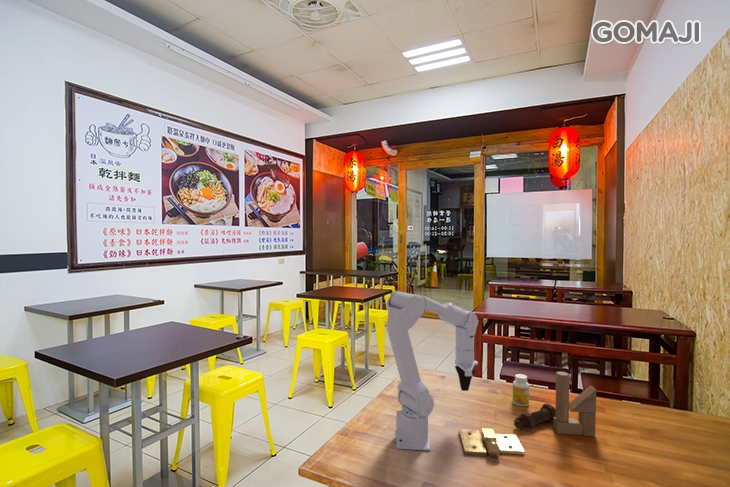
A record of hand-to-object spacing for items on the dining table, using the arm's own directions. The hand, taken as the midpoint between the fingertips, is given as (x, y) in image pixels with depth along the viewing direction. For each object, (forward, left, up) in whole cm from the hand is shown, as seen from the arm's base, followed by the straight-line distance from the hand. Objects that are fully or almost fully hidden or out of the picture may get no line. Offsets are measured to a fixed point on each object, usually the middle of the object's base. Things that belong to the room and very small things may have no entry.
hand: (464, 389), depth 117 cm
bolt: (+22, 0, -11) cm, 24 cm away
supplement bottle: (+22, +15, -11) cm, 29 cm away
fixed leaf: (+2, -12, -10) cm, 16 cm away
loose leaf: (+8, -12, -10) cm, 18 cm away
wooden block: (+32, -3, -11) cm, 34 cm away
